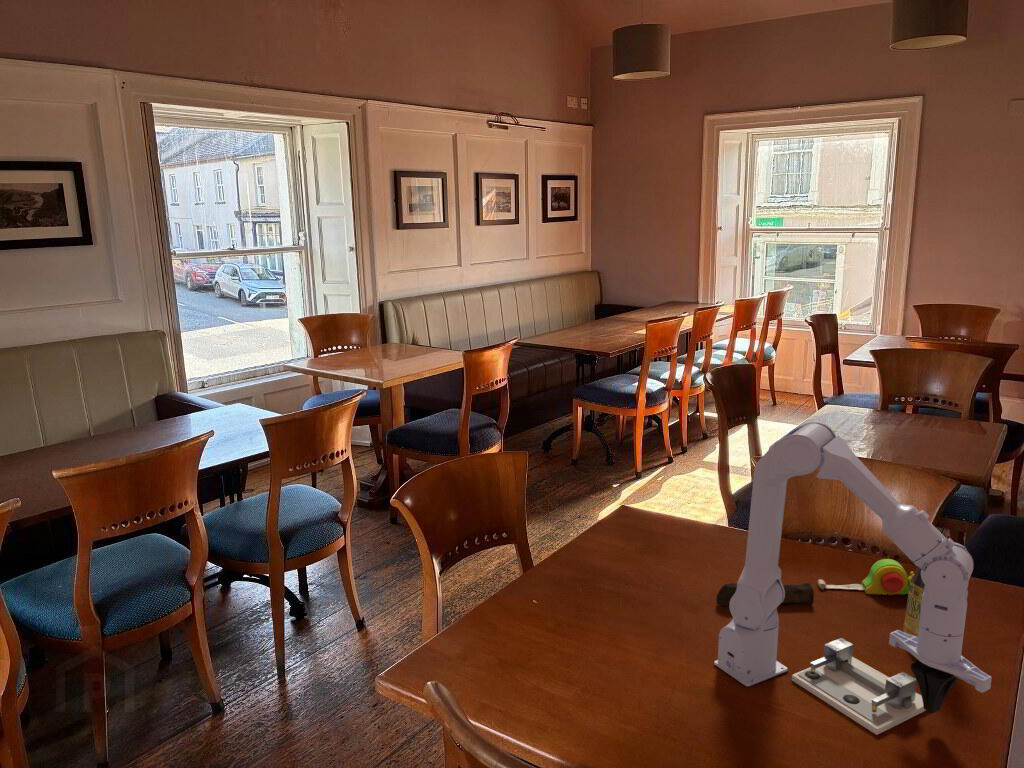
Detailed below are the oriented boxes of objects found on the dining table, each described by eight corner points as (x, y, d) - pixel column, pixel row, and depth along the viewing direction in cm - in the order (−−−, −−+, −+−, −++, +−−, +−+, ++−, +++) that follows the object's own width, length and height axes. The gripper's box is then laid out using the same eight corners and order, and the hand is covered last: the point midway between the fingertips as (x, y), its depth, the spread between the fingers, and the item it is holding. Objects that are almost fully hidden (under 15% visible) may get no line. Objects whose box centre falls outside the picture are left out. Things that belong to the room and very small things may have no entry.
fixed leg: (816, 679, 127) (818, 658, 126) (805, 671, 129) (806, 651, 128) (851, 664, 131) (853, 644, 130) (839, 657, 133) (841, 637, 132)
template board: (876, 735, 115) (878, 721, 115) (791, 680, 129) (792, 668, 129) (931, 707, 122) (933, 695, 121) (844, 657, 135) (845, 646, 135)
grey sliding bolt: (879, 717, 117) (881, 696, 117) (865, 709, 119) (867, 687, 119) (914, 700, 121) (916, 679, 120) (900, 692, 123) (902, 671, 122)
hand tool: (806, 597, 157) (808, 576, 156) (814, 607, 153) (816, 585, 152) (712, 600, 157) (713, 578, 156) (718, 609, 153) (719, 588, 152)
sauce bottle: (894, 638, 141) (904, 536, 137) (920, 631, 143) (931, 530, 139) (924, 657, 135) (936, 550, 131) (951, 649, 137) (963, 544, 133)
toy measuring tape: (924, 600, 154) (927, 570, 153) (821, 594, 158) (823, 564, 156) (913, 585, 161) (916, 556, 159) (814, 580, 164) (816, 551, 162)
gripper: (1008, 642, 109) (996, 727, 112) (913, 598, 122) (904, 676, 125) (978, 656, 106) (967, 744, 109) (883, 610, 118) (875, 690, 121)
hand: (932, 709), depth 116 cm, fingers closed
